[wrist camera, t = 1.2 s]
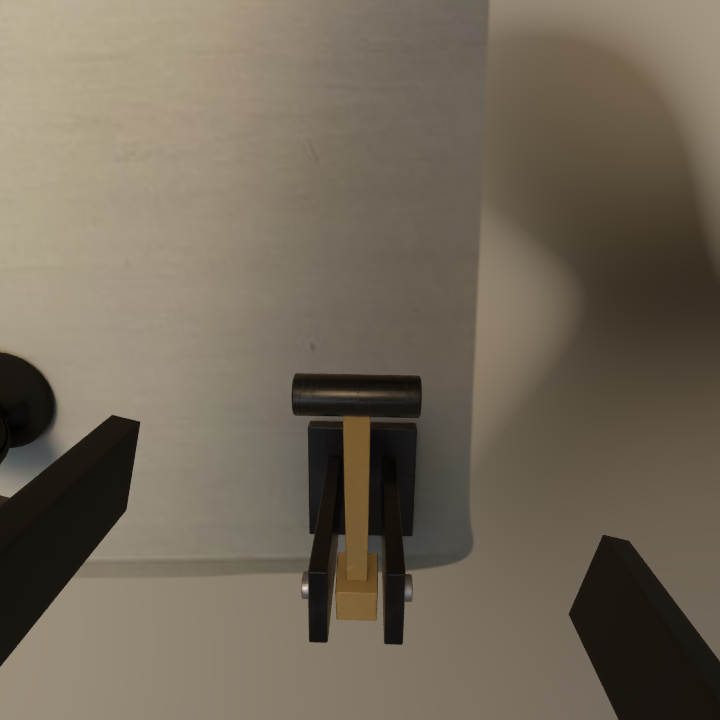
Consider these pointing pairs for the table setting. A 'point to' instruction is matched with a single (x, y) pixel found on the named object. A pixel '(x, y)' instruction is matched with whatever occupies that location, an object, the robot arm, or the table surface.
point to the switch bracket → (386, 517)
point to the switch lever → (356, 466)
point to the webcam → (21, 402)
